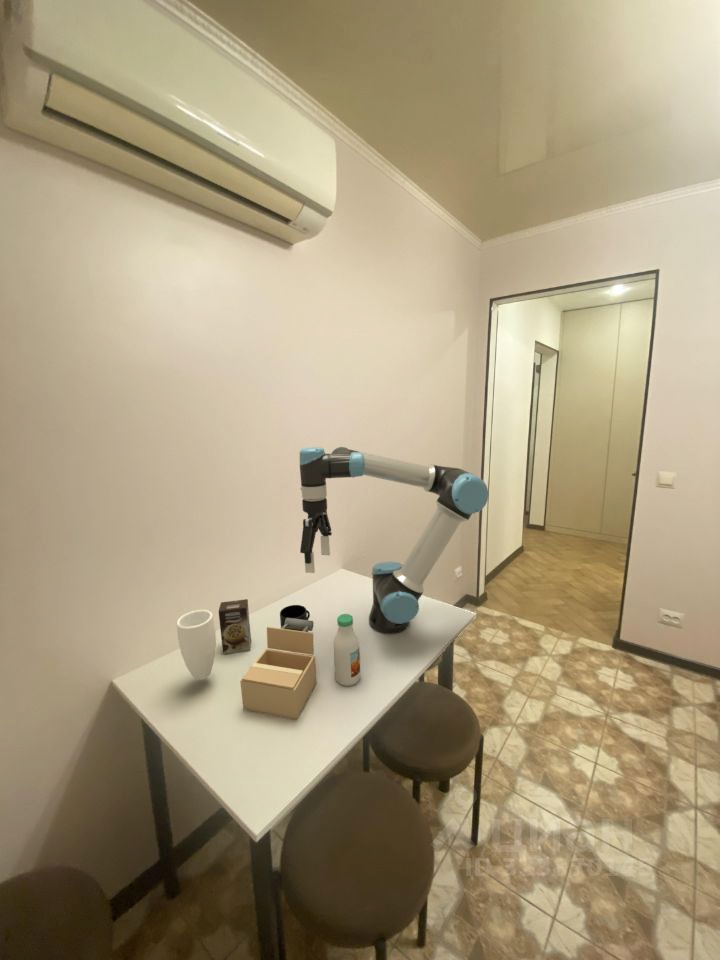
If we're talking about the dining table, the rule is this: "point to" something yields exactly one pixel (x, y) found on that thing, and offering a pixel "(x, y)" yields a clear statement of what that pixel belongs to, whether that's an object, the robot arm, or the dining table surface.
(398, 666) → the dining table surface
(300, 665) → the carton
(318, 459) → the robot arm
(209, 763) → the dining table surface
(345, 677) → the milk bottle
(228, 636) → the coffee box
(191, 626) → the cup
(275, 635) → the flap near
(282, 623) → the mug
